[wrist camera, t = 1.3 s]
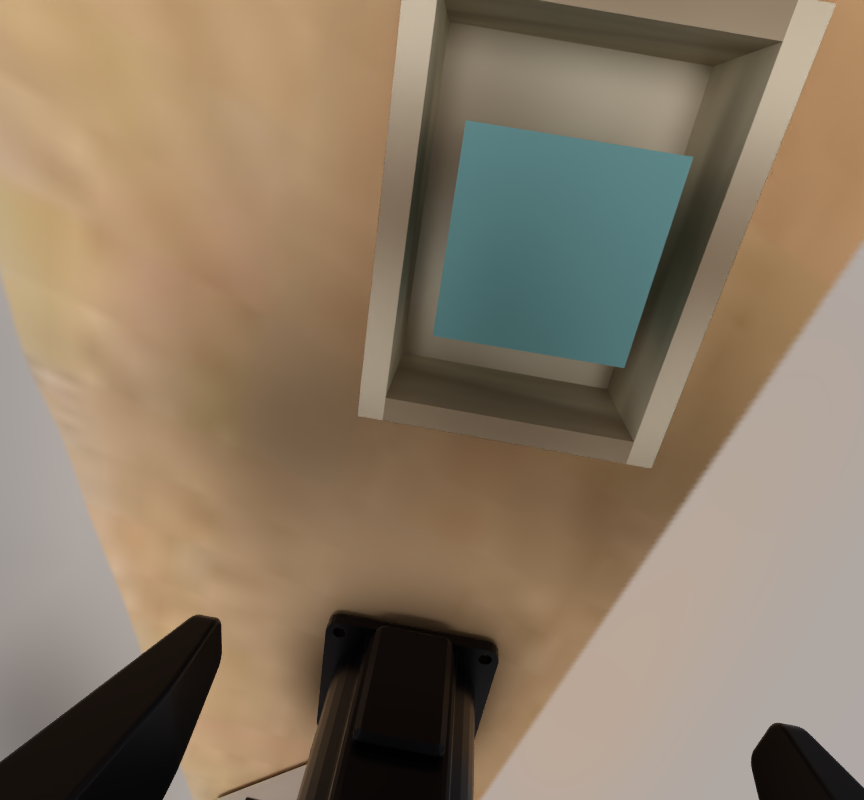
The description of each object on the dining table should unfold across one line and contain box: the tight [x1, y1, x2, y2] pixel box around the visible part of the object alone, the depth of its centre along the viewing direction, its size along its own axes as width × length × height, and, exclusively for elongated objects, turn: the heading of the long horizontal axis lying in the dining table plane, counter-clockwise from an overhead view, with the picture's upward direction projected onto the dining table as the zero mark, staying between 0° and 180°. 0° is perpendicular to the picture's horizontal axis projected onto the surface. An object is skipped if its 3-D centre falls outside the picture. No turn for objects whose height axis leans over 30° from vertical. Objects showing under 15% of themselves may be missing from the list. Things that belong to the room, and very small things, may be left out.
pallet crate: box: [358, 0, 836, 469], centre depth 12 cm, size 9×7×4 cm
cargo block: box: [433, 120, 693, 368], centre depth 12 cm, size 4×4×4 cm
